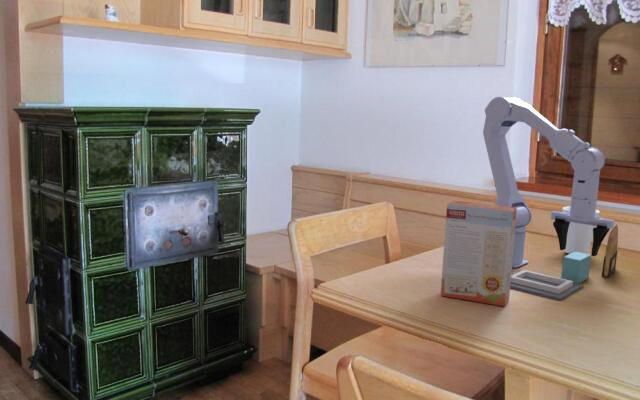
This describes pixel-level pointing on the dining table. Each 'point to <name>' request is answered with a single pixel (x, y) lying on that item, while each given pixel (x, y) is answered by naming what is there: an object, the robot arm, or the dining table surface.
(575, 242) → the cup
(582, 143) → the robot arm
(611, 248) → the ammunition clip
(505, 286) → the cracker box
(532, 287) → the grey square tray
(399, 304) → the dining table surface
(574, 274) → the light blue rectangular block
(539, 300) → the dining table surface
